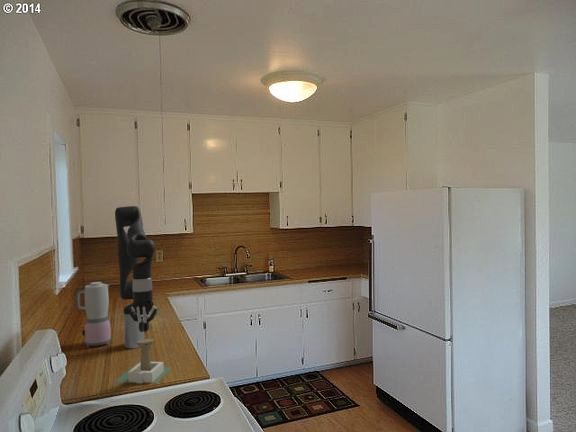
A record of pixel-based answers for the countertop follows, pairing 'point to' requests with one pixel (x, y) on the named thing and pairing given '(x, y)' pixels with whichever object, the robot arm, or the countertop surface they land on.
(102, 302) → the blender
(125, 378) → the board
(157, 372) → the socket
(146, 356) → the handle
